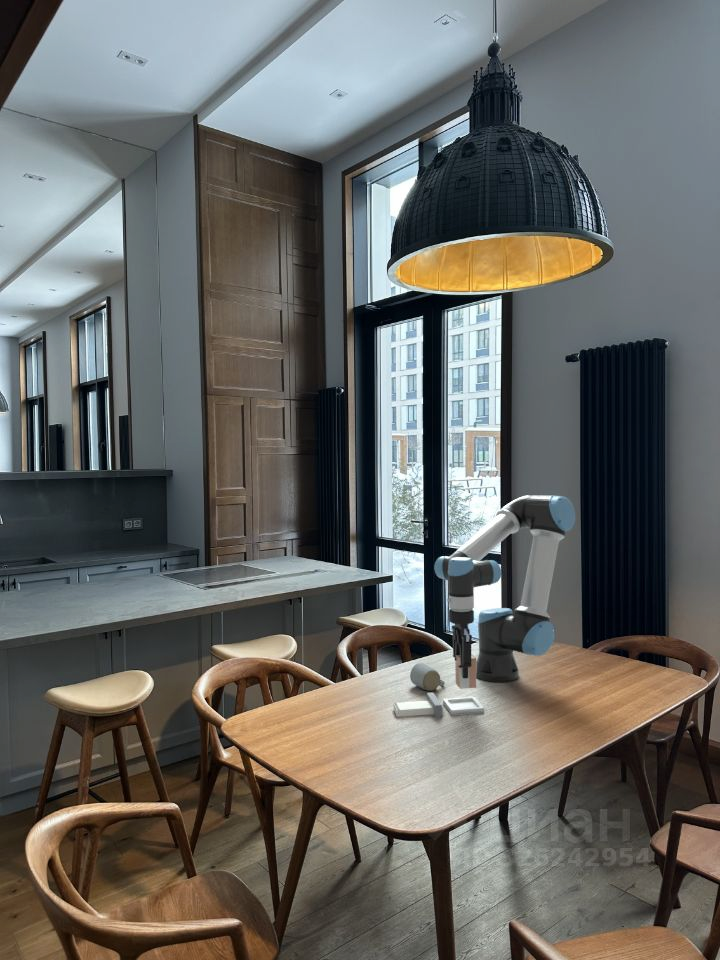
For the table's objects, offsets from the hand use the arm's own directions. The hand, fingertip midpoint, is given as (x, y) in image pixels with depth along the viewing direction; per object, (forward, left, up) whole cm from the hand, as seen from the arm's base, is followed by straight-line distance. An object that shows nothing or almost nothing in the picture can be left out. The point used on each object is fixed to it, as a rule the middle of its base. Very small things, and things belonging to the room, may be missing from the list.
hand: (462, 685), depth 208 cm
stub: (-1, 0, 0) cm, 1 cm away
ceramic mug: (+6, -21, -7) cm, 23 cm away
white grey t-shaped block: (+14, 0, -7) cm, 16 cm away
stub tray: (0, 0, -7) cm, 7 cm away
